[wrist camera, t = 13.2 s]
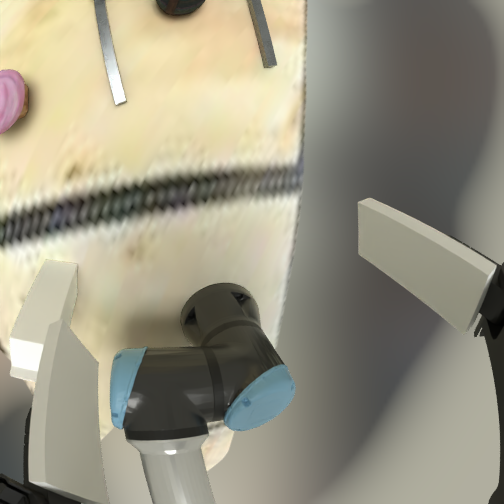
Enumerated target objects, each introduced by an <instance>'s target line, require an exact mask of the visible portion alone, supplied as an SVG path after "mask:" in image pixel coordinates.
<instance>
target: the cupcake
mask: <svg viewBox="0 0 504 504" xmlns="http://www.w3.org/2000/svg"><path fill="white" fill-rule="evenodd" d="M27 111H28V86H27V85H26V84H24V80H23V78H22V76H21V75H20V73H19V72H17V71H15V70H10V69H8V70H1V71H0V134H2V133H4V132H5V131H7V130H8V129H9V128H10V127H11V126H12V125H13V124H14V123H15V122H16V120H17V119H20V118H23V117H24V116H25V115H26V113H27Z"/></svg>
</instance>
